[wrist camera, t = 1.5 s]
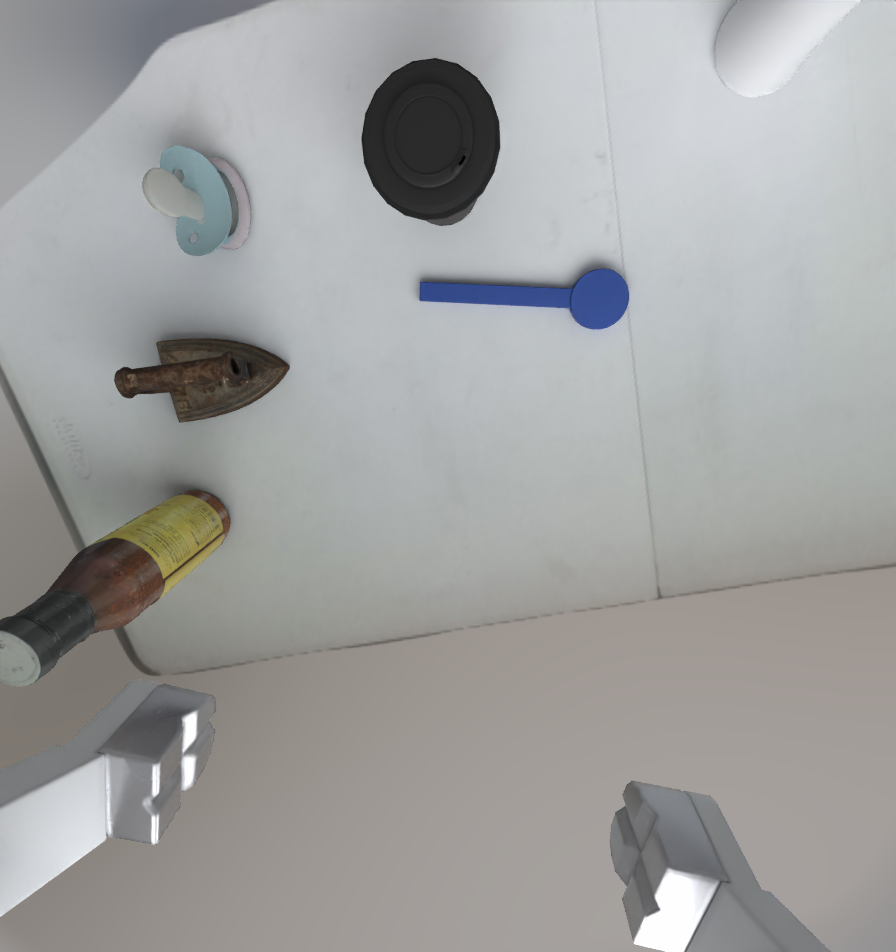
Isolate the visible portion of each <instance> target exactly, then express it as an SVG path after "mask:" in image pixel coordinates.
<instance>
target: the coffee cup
mask: <svg viewBox="0 0 896 952" xmlns="http://www.w3.org/2000/svg"><path fill="white" fill-rule="evenodd" d="M362 147H363V156H364V164H365V166H366V169H367V171H368V174H369V176H370V179H371V181H372V184H373V186H374V187H375V189H376V190H377V191H378V192H379V194H380V195H381V196H382V197H383V199H384V200H385V201H386V202H387V204H389V205H390V206H392V207H393V208H395V209H396V210H398V211H399V212H401V213H402V214H404V215H406V216H410V217H414V218H417V219H421V220H425V221H426V220H427V221H428V222H430V223H432V224H436V225H440V226H444V225H452V224H454V223H457V222H459V221H461V220H462V219H463V218H464V217H465V216H467V215H468V214H469V213H470V212H471V210H472V208H473V206H474V204H475V203H476V200H477V198H478V197H479V196H480V195H481V194H482V193H483V191H484V190H485V188H486V186H487V184H488V183H489V181H490V179H491V177H492V175H493V174H494V171H495V167H496V163H497V159H498V155H499V150H500V130H499V120H498V117H497V113H496V110H495V107H494V104H493V101H492V98H491V96H490V95H489V94H488V92H487V91H486V89H485V88H484V87H483V85H482V84H481V82H480V81H479V80H478V78H477V77H476V76H474V75H473V74H471V73H470V72H469V71H467V70H466V69H464V68H463V67H461V66H460V65H459V64H457V63H453V62H449V61H445V60H441V59H437V58H433V59H426V60H419V61H412V62H411V63H409V64H407V65H405V66H403V67H402V68H400V69H398V70H396V71H394V72H393V73H392V74H391V75H390V76H389V77H388V78H387V79H386V80H385V81H384V82H383V84H382V85H381V86H380V87H379V88H378V89H377V90H376V92H375V94H374V96H373V98H372V100H371V103H370V105H369V107H368V109H367V111H366V113H365V120H364V126H363V132H362Z"/></svg>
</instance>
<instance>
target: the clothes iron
mask: <svg viewBox="0 0 896 952" xmlns="http://www.w3.org/2000/svg"><path fill="white" fill-rule="evenodd" d="M156 345H157V348H158V352H159V356H160V360H161V364H162V365H158V366H151V367H143V368H136V369H131V368H128V367H123V368H121V369H120V370H118V371H117V372H116V374H115V379H114V381H115V384H116V387H117V389H118V391H119V392H120V394H121V395H122V396H123V397H125V398H133V397H134V396H135V395H137V394H155V393H167V392H170V394H171V397H172V401H173V404H174V407H175V410H176V414H177V417H178V420H179V422H188V421H194V420H200V419H206V418H210V417H215V416H219V415H223V414H226V413H229V412H232V411H235V410H238V409H240V408H242V407H245V406H247V405H249V404H251V403H253V402H254V401H256V400H258V399H259V398H261V397H262V396H264V395H265V394H267V393H268V392H269V391H271V390H272V389H273V388H274V387H275V386H276V385H277V384H278V383H279V382H280V381H281V380H282V379H283V377H284V376H285V375H286V373H287V371H288V370H289V365H287V364H286V363H285V362H284V361H283V360H282V359H280V358H279V357H277V356H275V355H273V354H271V353H269V352H267V351H265V350H263V349H260V348H257V347H254V346H251V345H248V344H244V343H239V342H235V341H229V340H221V339H179V340H168V341H160V342H157V344H156Z"/></svg>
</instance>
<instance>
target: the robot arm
mask: <svg viewBox="0 0 896 952" xmlns="http://www.w3.org/2000/svg"><path fill="white" fill-rule="evenodd" d="M215 712H216V697H215V696H213V695H210V694H206V693H202V692H197V691H193V690H189V689H184V688H180V687H176V686H171V685H167V684H161V683H157V682H152V681H148V680H144V679H140V678H138V679H136V680H134V681H132V682H130V683H129V684H127V685H126V686H125V687H124V688H123V689H122V690H121V691H120V692H119V693H118V694H117V695H116V696H115V697H114V698H113V699H112V700H111V701H110V702H109V703H108V704H107V705H106V706H105V707H104V708H103V709H102V710H101V711H100V712H99V713H98V714H97V715H96V716H95V717H94V718H93V719H92V720H91V721H90V722H89V723H88V724H87V725H86V726H85V727H84V728H83V729H82V730H81V731H80V732H79V733H78V734H77V735H76V736H75V737H74V738H73V739H72V740H71V741H69V742H68V743H67V745H65V746H60V745H55V746H53V747H50V748H48V749H46V750H44V751H41V752H39V753H37V754H35V755H33V756H30V757H28V758H26V759H24V760H22V761H19V762H17V763H15V764H13V765H10V766H8V767H6V768H4V769H1V770H0V917H1V916H2V915H4V914H5V913H6V912H8V911H9V910H10V909H12V908H13V907H14V906H16V905H17V904H19V903H20V902H21V901H23V900H24V899H25V898H27V897H28V896H30V895H31V894H32V893H34V892H35V891H36V890H38V889H39V888H40V887H42V886H43V885H45V884H46V883H47V882H49V881H50V880H51V879H53V878H54V877H56V876H57V875H58V874H60V873H61V872H63V871H64V870H65V869H67V868H68V867H69V866H71V865H72V864H74V863H75V862H76V861H77V860H79V859H80V858H82V857H83V856H84V855H86V854H87V853H88V852H90V851H91V850H93V849H94V848H95V847H97V846H98V845H100V844H101V843H102V842H104V841H105V840H106V836H108V837H114V838H120V839H125V840H131V841H137V842H142V843H148V844H154V845H156V844H157V843H158V841H159V840H160V838H161V837H162V835H163V833H164V832H165V830H166V829H167V827H168V826H169V824H170V823H171V821H172V819H173V818H174V816H175V814H176V813H177V811H178V810H179V808H180V798H181V792H183V791H185V790H186V789H188V788H189V787H191V786H193V785H194V784H195V783H196V781H197V780H198V778H199V776H200V775H201V773H202V772H203V770H204V768H205V765H206V763H207V761H208V758H209V756H210V754H211V750H212V746H213V742H214V733H215V732H214V731H215V729H214V728H213V726H212V725H211V723H210V722H209V720H210V719H211V718H212V716H213V714H214V713H215ZM623 798H624V801H625V804H626V806H625V807H623V808H622V809H620V810H618V811H617V812H616V813H615V816H614V818H613V821H612V824H611V834H610V847H611V856H612V860H613V864H614V869H615V872H616V873H617V874H618V875H619V877H620V878H621V879H622V881H623V882H624V883H625V884H626V885H627V888H626V891H625V893H624V896H623V898H622V900H623V904H624V908H625V912H626V915H627V919H628V923H629V927H630V931H631V934H632V938H633V942H634V944H637V945H642V946H646V947H650V948H654V949H658V950H663V951H666V952H830V951H829V950H828V949H827V948H826V947H825V946H824V945H823V944H822V943H821V942H820V941H819V940H818V939H817V938H816V937H815V936H814V935H813V934H812V933H811V932H810V931H809V930H808V929H807V928H806V927H805V926H804V925H803V924H802V923H801V922H800V921H799V920H798V919H797V918H796V917H795V916H794V915H793V914H792V913H791V912H790V911H789V910H788V909H787V908H786V907H785V906H784V905H783V904H782V903H781V902H780V901H779V900H778V899H777V898H776V897H775V896H774V895H773V894H772V893H771V892H768V891H764V890H762V889H761V887H760V886H759V884H758V882H757V880H756V878H755V876H754V874H753V872H752V870H751V868H750V866H749V864H748V862H747V860H746V858H745V856H744V855H743V853H742V851H741V849H740V847H739V845H738V843H737V841H736V839H735V837H734V835H733V833H732V831H731V829H730V827H729V825H728V824H727V822H726V820H725V818H724V816H723V814H722V812H721V810H720V808H719V806H718V804H717V803H716V801H715V800H714V799H713V798H712V797H711V796H708V795H703V794H698V793H693V792H688V791H681V790H678V789H672V788H667V787H662V786H657V785H652V784H647V783H641V782H636V781H631V782H630V783H628V784H627V785H626V788H625V790H624V793H623Z"/></svg>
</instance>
